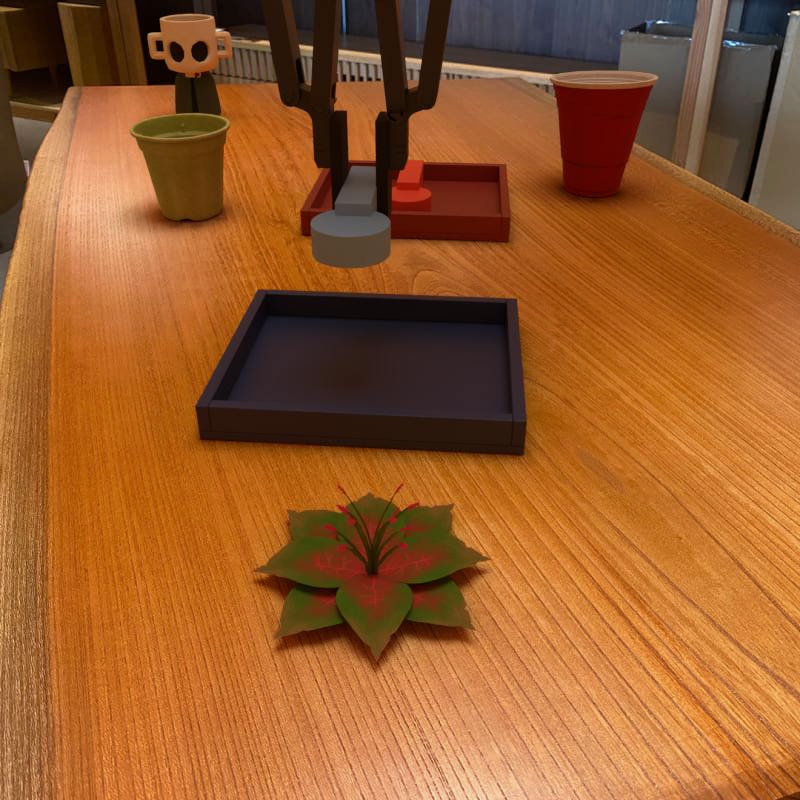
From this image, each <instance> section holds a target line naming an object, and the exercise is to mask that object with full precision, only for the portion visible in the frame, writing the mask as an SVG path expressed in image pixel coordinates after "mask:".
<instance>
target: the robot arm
mask: <svg viewBox="0 0 800 800" xmlns="http://www.w3.org/2000/svg"><path fill="white" fill-rule="evenodd" d="M260 1H261V6H262V11H263V17H264V22H265V27H266V33H267V37H268V42H269V48H270V53H271V59H272V63H273V68H274V74H275V78H276V83H277V88H278V93H279V98H280V102H281V103H282V104H283V106H285V107H288V108H293V107H294V108H297V109H299V110H301V111H304V112H305V113H307V114H308V115H309V117H310V119H311V129H312V144H313V146H312V147H313V149H312V150H313V162H314V163H315V165H316V167H317V169H323V168H331V187H332V210H335V202H336V199H337V197H338V195H339V193H340V191H341V189H342V187H343V185H344V183H345V181H346V179H347V176H348V174H349V160H350V159H349V131H348V130H349V129H348V125H349V124H348V109H347V110H341V109H339V110H338V109H336V110H335V105H336V103H337V100H338V98H337V97H336V96H337V82H338V69H339V68H338V66H339V52H340V51H339V50H340V39H341V38H340V37H341V23H342V22H341V21H342V9H343V8H342V7H343V0H314V20H313V38H312V57H311V59H312V60H311V78H310V84H308V83H307V82H306V76H305V71H304V65H303V60H302V54H301V49H300V41H299V38H298V32H297V26H296V20H295V15H294V9H293V4H292V0H260ZM373 1H374V9H375V19H376V26H377V29H376V30H377V36H378V45H379V54H380V55H379V56H380V63H381V64H380V65H381V72H382V81H383V89H384V97H385V98H384V99H385V110H386V111H383V110H379V112H378V114H377V117H376V119H375V121H374V143H375V146H374V148H375V149H374V151H375V152H374V153H375V161H376V187H377V212H379V213H382V214H384V215H385V216H387V217H388V218H389V219H390V215H391V212H392V170H404V168H405V166H406V163H407V160H409V156H410V154H409V153H410V152H409V151H410V149H409V146H410V143H409V142H410V118H411V116H413V115H414V114H416V113H419V112H421V111H429V110H432V109H433V108H434V107H435V106H436V103H437V99H438V94H439V90H440V82H441V77H442V69H443V63H444V56H445V49H446V43H447V36H448V31H449V24H450V17H451V10H452V3H453V0H429V5H428V12H427V18H426V19H427V20H426V27H425V33H424V34H425V36H424V40H423V49H422V55H421V62H420V70H419V77H418V84H417V85H416V86H414V87H411V88H409V81H408V72H407V71H408V70H407V60H406V52H405V41H404V29H403V20H402V11H401V9H402V8H401V0H373Z"/></svg>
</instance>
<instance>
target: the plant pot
mask: <svg viewBox="0 0 800 800" xmlns="http://www.w3.org/2000/svg"><path fill="white" fill-rule="evenodd" d="M230 127H231V122H230V120H229V119H228V118H226V117H224V116H222V115H220V116H217V115H211V114H201V113H184V114H176V113H175V114H174V113H173V114H164V115H163V114H162V115H157V116H154V117H148V118H144V119H142V120H139V121H136V122H135V123H133V124H132V125H131V126H130V127H129V129H128V131H129V134H130V135H131V137H133V138H134V139H135V141H136V143H137V146H138V149H139V150H140V151H141V152H142V155H143V158H144V161H145V164H146V167H147V170H148V173H149V177H150V180H151V184H152V186H153V189H154V193H155V196H156V199H157V203H158V205H159V209H160V212H161V215H162V216H163V217H164V218H166V219H168V220H172V221H174V222H175V221H176V222H177V221H179V222H180V221H182V220H184V219H188V220H192V221H203V220H205V219H206V220H207V219H210V218H212V217H215V216H217V215H218V214H220V213H221V212H222V209H223V207H224V165H225V163H224V161H225V159H224V158H225V157H224V156H225V144H226V142H227V133H228V132H227V131H229V130H230Z"/></svg>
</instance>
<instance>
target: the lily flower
mask: <svg viewBox="0 0 800 800" xmlns="http://www.w3.org/2000/svg"><path fill="white" fill-rule="evenodd" d="M370 481H371V478H370ZM404 486H405V485H404V482H402V483H400V485H399V486H397V488H396V489H395V493H394V494H393V495H392V497H391V499H390V500H388V499H385V498H382V497H375V494H373V493H372V492H371V491H368V493H366V494H365V495H363V496H361V497H359V498H358V500H353V501H352V500H351V498H350V496H349V495H348V494H347V492H346V491H345V489H344V488H343V487H342V486H341V485H340V484H338V483H337V488H338V489H339V490H340V491H341V492H342V494H343V495H344V496H346V497H347V499H348V501H349V503H348V504H347V505H345V506H343V505H342V504H336V505H335V507H336V508H337V507H338V510H340V511H341V512H337V511H335V510H330V509H305V510H304V509H303V510H301V511H299V512H298V511H297V510H294V509H285V510H286V514H287V515H288V517H287V518H288V522H289V523H290V525H289V531H290V535H291V538H292V541H290V542H288V543H287V544H285V545H284V546H283V547H281V548H280V549H279V550H278V551H277V552H276V553H274V554H273V555H272V556H271V557H269V560H268V561H267V562H266V564H265V565H260V566H259V567H257V568H256V569H253V570H251V573H261V574H265V575H275V577H279V578H285V579H289V580H291V581H294V582H296V583H297V584H296V585H294V586H293V588H291V589H290V591H289V592H288V594H287V596H286V597H285V600H284V603H283V605H282V608H281V613H280V618H279V622H280V623H279V624H280V628H278V629H277V631H276V633H275V635H274V636H273V638H272V640H277V639H279V638H282V637H287V636H292V635H295V634H300V633H301V632H303V631H305V632H310V631H314V630H318V629H322V628H327V627H332V626H336V625H339V624H342V623H345V622H347V623H348V624H349V626H350V627H351V629H352V630H353V631H354V633H356V635H357V636H358V638H359V639H360V640H361V641H362V642H363V643H364V644H366V646H368V647H369V648H370V652H371V654H372V656H373V657H374V659H375V662H378V661H379V659H380V657H381V654H382V652H383V651H384V650H385V648H386V646H387V645H388V643H389V642H390V640H391V635H394V634H395V633H396V632H397V631H398V629H399V628H400V626H401V624H402V623H403V621H404V620H407V621H412V622H418V623H426V624H431V625H436V626H437V625H438V626H444V627H453V628H454V627H462V629H463V628H464V629H467V630H469V631H470V630H471V631H475V632H476V631H477V629H476V627H475V626H474V625H473V623H472V619H471V616H470V613H469V612H470V611H468V609H467V610H466V606H467V603H466V600H465V597H464V595H463V592H462V590H461V589H460V588H459V586H458V585H457V584H456V582H454V581H453V580H452V579H451V578H450V577H448V576H449V575H451V574H453V573H456V572H458V571H459V570H462V569H466V568H470V567H471V566H475V565H477V564H478V563H480V562H482V563H483V562H487V561H492V560H493V559H492V558H491V557H488V556H486V555H483V554H482V553H480V552H479V551H477V550H476V549H475V548H473V547H471V546H467V545H466V542H464V541H463V540H461V539H460V538H458V537H457V536H455V535H453V534H451V530H452V527H453V513H452V511H453V509H454V506H455V505H456V503H455V502H453V503H449V504H447V505H446V504H441V505H440V504H439V505H438V504H437V505H432V506H431V507H430V506H429V505H420V502H419V501H418V502H414V503H410V504H409V505H408V506H407V507H406V508H404V509H403V510H401V509H400V507H398V506H397V505H396V504H395V503H394V502H393V500H394V497H395V496H396V495H397V494H398V493H399V491H400V490H401V489H402V487H404Z"/></svg>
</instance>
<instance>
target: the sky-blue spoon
mask: <svg viewBox="0 0 800 800" xmlns="http://www.w3.org/2000/svg"><path fill="white" fill-rule="evenodd" d="M310 224H311V235H310V241H311V255H312V257H313V259H314V260H315V261H316V262H318V263H319V264H322V265H324V266H328V267H332V268H337V269H364V268H369V267H373V266H377V265H379V264H381V263H383V262H385V261H386V260H388V259H389V257H390V256H391V254H392V253H391V252H392V250H391V248H392V246H391V245H392V244H391V242H392V240H391V239H392V238H391V222H390V219H389V218H388V217H387V216H385V215H384V214H382V213H379V212H377V187H376V167H372V166H352V167H351V169H350V172H349V174H348V176H347V179H346V181H345V183H344V185H343V187H342V189H341V191H340V193H339V195H338V197H337V199H336V202H335V210H332V211H327V212H324V213H321V214H319V215H317V216H315V217H314V218H313V219H312V220H311V223H310Z"/></svg>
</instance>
